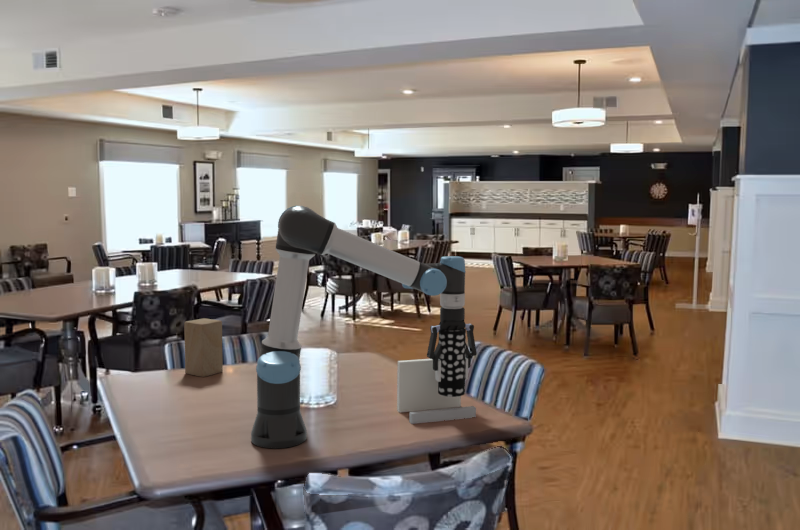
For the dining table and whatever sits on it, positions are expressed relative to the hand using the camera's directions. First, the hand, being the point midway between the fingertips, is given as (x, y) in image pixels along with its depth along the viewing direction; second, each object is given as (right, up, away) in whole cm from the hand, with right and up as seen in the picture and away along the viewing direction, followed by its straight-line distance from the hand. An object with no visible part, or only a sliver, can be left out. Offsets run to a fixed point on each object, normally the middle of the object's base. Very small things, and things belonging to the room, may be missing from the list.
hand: (451, 379), depth 211 cm
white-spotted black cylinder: (0, -5, 0) cm, 5 cm away
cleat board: (-5, -11, +2) cm, 12 cm away
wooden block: (-91, -6, +49) cm, 103 cm away
